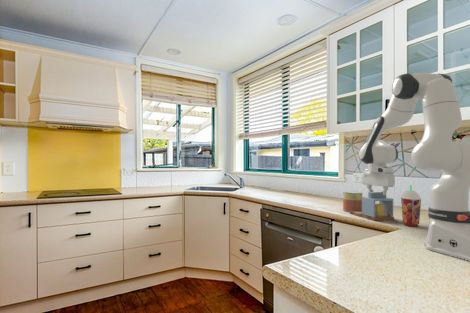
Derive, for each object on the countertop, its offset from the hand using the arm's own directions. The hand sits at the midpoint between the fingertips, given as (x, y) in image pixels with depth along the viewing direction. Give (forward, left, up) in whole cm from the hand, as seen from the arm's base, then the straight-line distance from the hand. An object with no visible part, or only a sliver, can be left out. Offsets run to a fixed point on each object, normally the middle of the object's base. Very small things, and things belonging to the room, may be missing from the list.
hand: (377, 194), depth 148 cm
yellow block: (0, 0, -12) cm, 12 cm away
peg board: (+5, 0, -13) cm, 14 cm away
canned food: (+22, -1, -14) cm, 26 cm away
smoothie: (-17, -4, -14) cm, 22 cm away
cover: (0, 0, -12) cm, 12 cm away
